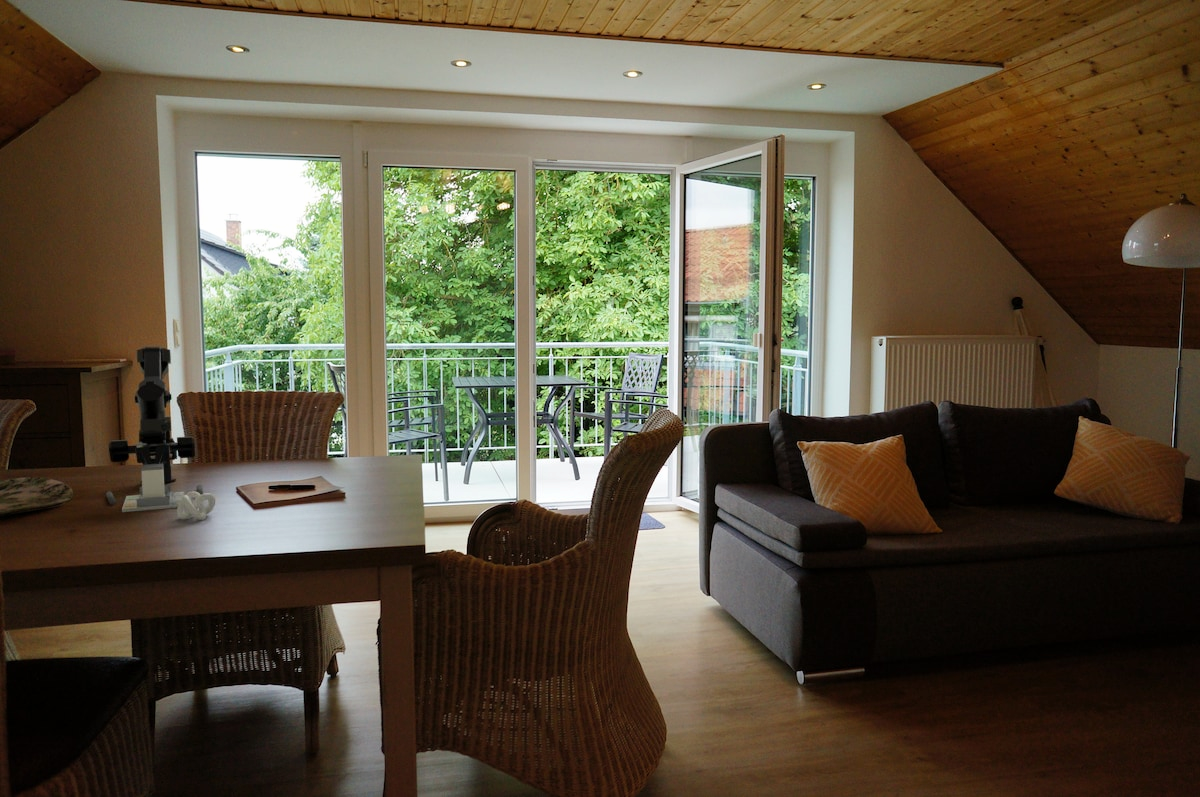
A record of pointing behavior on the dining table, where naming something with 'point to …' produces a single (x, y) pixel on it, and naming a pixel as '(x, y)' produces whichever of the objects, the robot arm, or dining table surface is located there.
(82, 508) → the dining table surface
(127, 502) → the panel
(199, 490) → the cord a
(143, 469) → the grey upright block
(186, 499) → the knot
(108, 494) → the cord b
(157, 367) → the robot arm
